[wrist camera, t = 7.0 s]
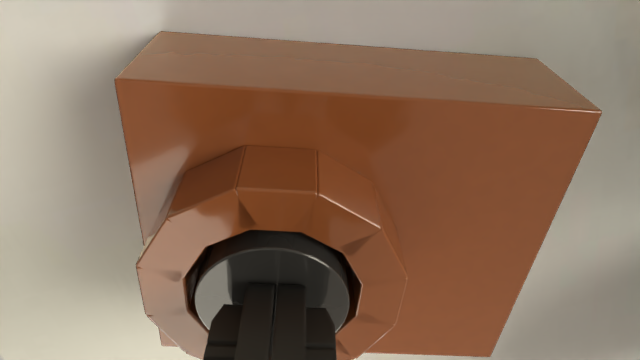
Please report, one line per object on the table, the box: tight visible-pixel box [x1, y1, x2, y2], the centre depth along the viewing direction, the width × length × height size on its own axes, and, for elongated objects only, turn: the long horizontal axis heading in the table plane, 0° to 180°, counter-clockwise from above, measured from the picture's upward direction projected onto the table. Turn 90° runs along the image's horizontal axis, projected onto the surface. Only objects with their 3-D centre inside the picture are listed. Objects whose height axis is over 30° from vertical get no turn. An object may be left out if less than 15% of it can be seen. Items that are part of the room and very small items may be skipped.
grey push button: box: [195, 230, 350, 333], centre depth 13 cm, size 4×4×2 cm
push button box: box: [114, 31, 602, 360], centre depth 15 cm, size 12×10×6 cm
